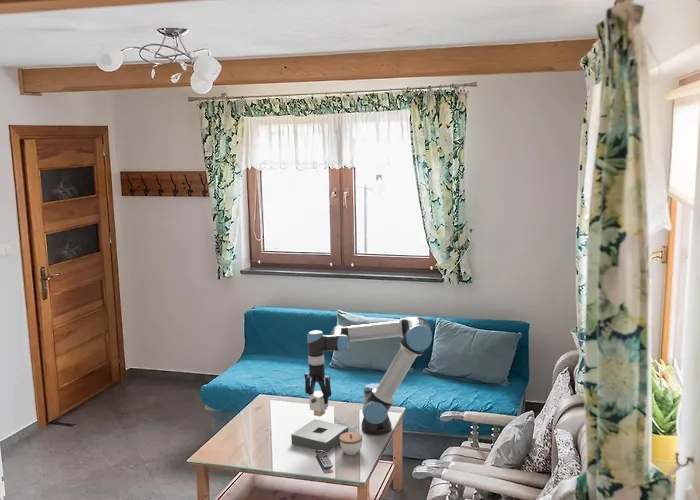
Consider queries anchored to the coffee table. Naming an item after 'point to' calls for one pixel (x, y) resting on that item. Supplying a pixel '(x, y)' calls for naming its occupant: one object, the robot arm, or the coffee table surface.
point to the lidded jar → (351, 442)
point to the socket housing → (318, 435)
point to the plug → (316, 403)
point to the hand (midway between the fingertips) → (319, 408)
